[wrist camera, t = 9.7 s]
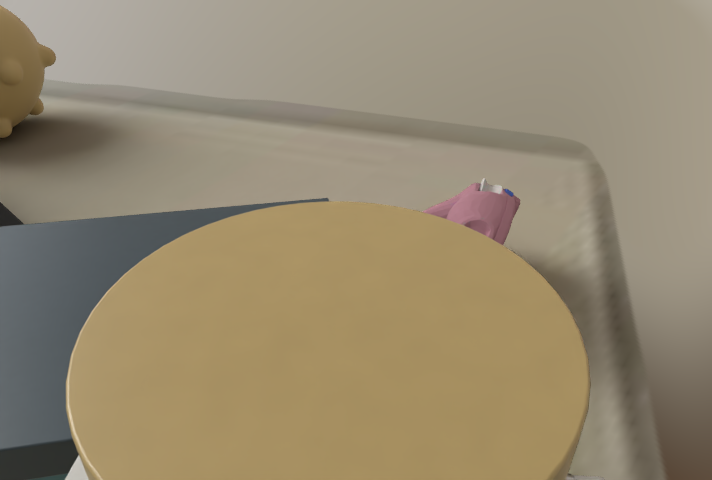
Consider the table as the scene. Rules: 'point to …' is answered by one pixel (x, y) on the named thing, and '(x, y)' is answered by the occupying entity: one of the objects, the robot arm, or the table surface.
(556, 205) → the table surface
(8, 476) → the storage box
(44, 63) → the toy pig
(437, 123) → the table surface
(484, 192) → the video game controller
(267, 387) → the tea tin
